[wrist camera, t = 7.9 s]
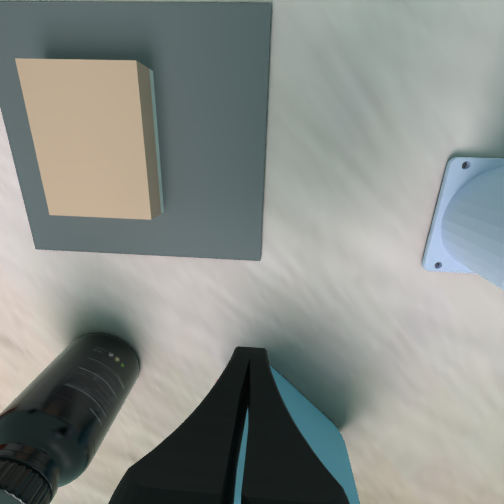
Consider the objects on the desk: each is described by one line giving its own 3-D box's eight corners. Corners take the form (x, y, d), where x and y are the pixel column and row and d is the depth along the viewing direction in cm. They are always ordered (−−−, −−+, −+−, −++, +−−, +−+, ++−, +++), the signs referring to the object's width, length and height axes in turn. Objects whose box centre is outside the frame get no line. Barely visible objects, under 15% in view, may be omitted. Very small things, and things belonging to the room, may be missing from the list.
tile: (136, 60, 16) (14, 58, 16) (151, 219, 19) (49, 215, 19) (153, 71, 18) (46, 68, 18) (164, 211, 21) (72, 207, 22)
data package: (225, 379, 27) (190, 548, 16) (260, 354, 26) (251, 518, 14) (307, 450, 29) (328, 639, 18) (343, 431, 28) (390, 621, 17)
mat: (271, 5, 17) (271, 2, 16) (260, 259, 22) (260, 260, 22) (-22, 3, 18) (-26, 1, 17) (38, 247, 23) (35, 249, 23)
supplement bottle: (111, 399, 29) (7, 563, 17) (56, 355, 27) (-97, 503, 16) (157, 365, 27) (74, 524, 16) (101, 316, 25) (-36, 452, 14)
